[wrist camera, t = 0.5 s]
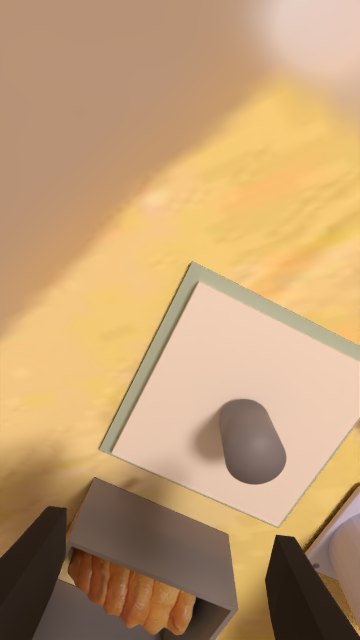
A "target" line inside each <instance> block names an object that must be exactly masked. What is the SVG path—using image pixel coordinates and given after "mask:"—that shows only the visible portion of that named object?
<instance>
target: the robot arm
mask: <svg viewBox="0 0 360 640" xmlns="http://www.w3.org/2000/svg"><path fill="white" fill-rule="evenodd" d="M66 512H67V508H60V507H52V506H49V507H47V508H46V509H45V510H44V511H43V512H42V513H41V515H40V516H39V517H38V518H37V519H36V520H35V521H34V523H33V524H32V525H31V526H30V527H29V528H28V529H27V530H26V531H25V532H24V534H23V535H22V536H21V537H20V538H19V539H18V540H17V541H16V542H15V543H14V544H13V545H12V547H11V548H10V549H9V550H8V551H7V552H6V553H5V554H4V555H3V556H2V557H1V558H0V640H32V638H33V636H34V634H35V631H36V629H37V627H38V625H39V622H40V620H41V618H42V616H43V613H44V611H45V609H46V607H47V604H48V602H49V600H50V597H51V595H52V593H53V590H54V587H55V584H56V581H57V579H58V576H59V573H60V570H61V567H62V564H63V561H64V558H65V555H66ZM317 572H318V573H321V574H323V575H325V576H328V577H330V578H332V579H335V580H337V581H338V582H339V584H340V587H341V589H342V591H343V593H344V596H345V598H346V600H347V602H348V605H349V607H350V609H351V611H352V614H353V616H354V618H355V620H356V623H357V625H358V627H359V629H360V485H359V486H358V487H357V489H356V490H355V491H354V492H353V494H352V495H351V496H350V497H349V499H348V500H347V501H346V502H345V504H344V505H343V506H342V507H341V509H340V510H339V511H338V512H337V514H336V515H335V516H334V517H333V519H332V520H331V521H330V522H329V524H328V525H327V526H326V527H325V529H324V530H323V531H322V532H321V534H320V535H319V536H318V537H317V539H316V540H315V541H314V542H313V544H312V545H311V546H310V547H309V549H308V550H307V551H306V552H305V553H304V551H303V550H302V548H301V547H300V545H299V543H298V542H297V540H296V539H295V538H294V537H290V536H282V535H276V537H275V541H274V545H273V549H272V553H271V558H270V562H269V566H268V570H267V574H266V578H265V583H266V590H267V597H268V604H269V610H270V616H271V622H272V627H273V631H274V635H275V640H360V636H359V635H358V633H357V632H356V631H355V629H354V628H353V626H352V625H351V623H350V622H349V620H348V619H347V617H346V616H345V615H344V613H343V612H342V610H341V609H340V607H339V606H338V604H337V603H336V601H335V600H334V598H333V597H332V595H331V594H330V592H329V591H328V589H327V588H326V586H325V585H324V583H323V581H322V580H321V578H320V577H319V575H318V574H317Z"/></svg>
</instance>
